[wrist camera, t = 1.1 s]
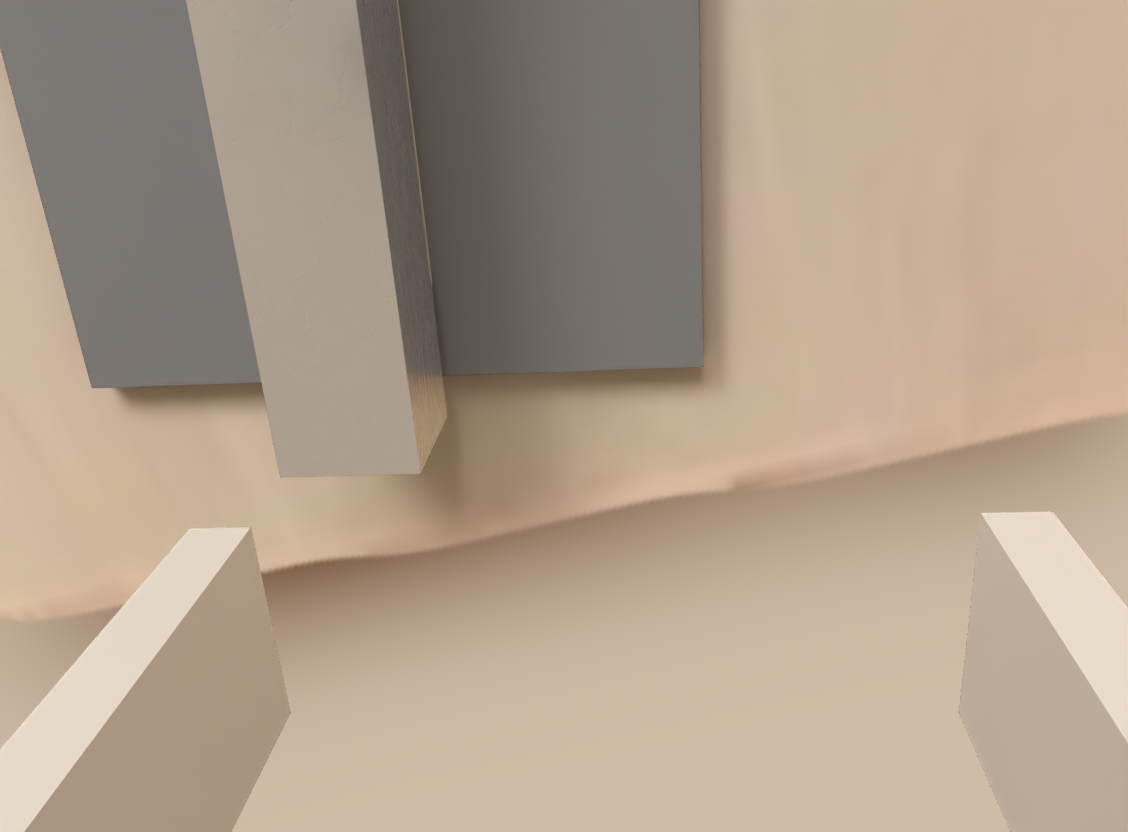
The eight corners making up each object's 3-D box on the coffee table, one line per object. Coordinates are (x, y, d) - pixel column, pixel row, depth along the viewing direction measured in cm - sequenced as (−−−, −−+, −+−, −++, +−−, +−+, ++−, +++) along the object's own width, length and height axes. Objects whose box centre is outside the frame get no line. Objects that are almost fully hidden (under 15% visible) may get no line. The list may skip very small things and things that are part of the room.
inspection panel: (-80, -339, 26) (-116, -355, 25) (691, -426, 24) (693, -448, 23) (106, 377, 34) (86, 391, 32) (701, 356, 32) (703, 370, 30)
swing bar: (188, -393, 24) (50, -509, 18) (351, -412, 23) (260, -537, 18) (328, 414, 32) (261, 502, 26) (450, 410, 31) (408, 499, 26)
